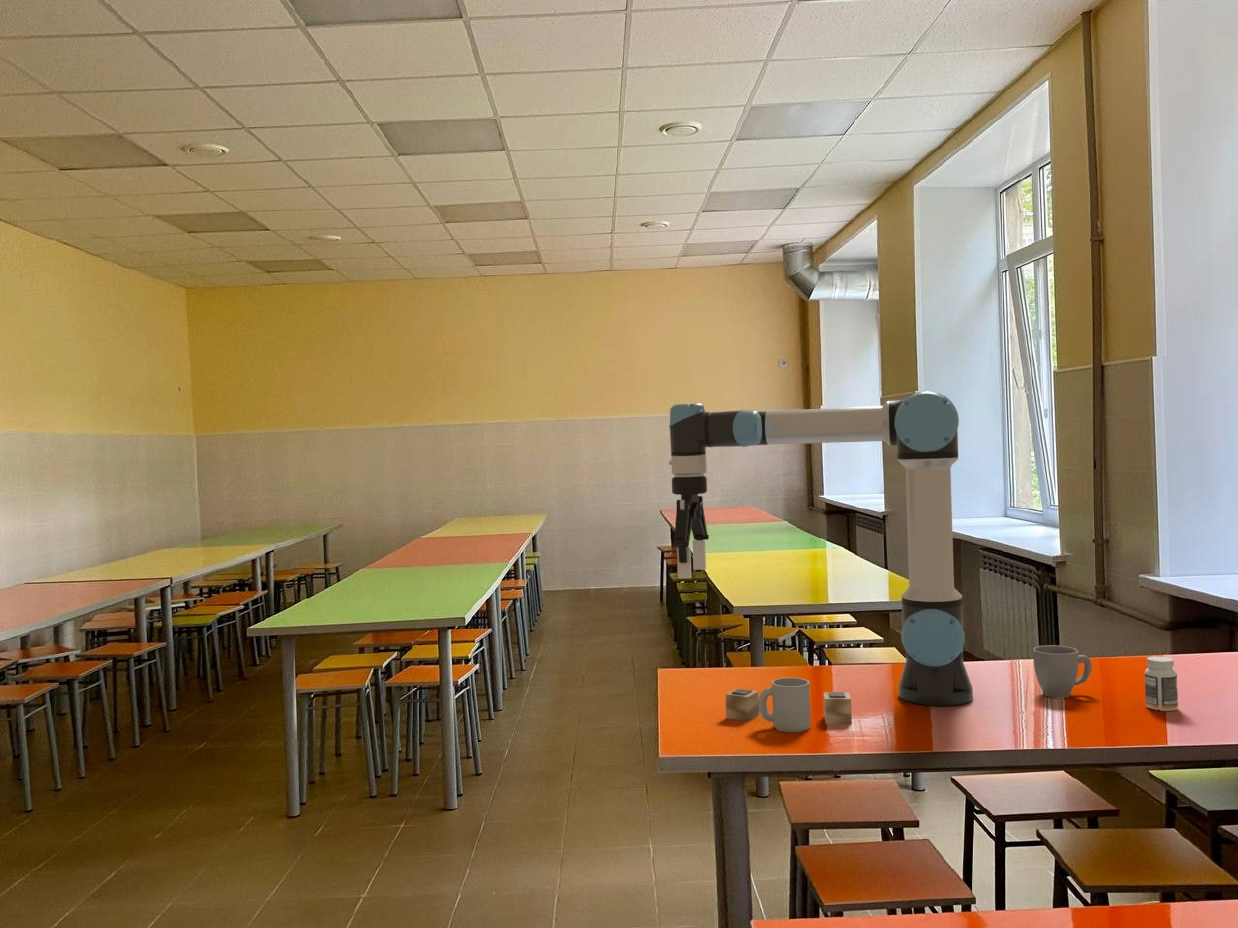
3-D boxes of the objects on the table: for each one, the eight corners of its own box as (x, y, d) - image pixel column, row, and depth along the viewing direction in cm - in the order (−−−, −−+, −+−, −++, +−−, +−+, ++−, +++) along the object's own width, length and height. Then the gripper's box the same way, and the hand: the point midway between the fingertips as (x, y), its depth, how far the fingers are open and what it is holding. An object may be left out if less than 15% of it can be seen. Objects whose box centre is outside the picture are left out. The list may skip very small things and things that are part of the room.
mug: (1046, 701, 205) (1045, 655, 205) (1026, 690, 214) (1025, 646, 214) (1102, 698, 206) (1101, 652, 206) (1080, 687, 215) (1079, 643, 214)
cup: (813, 732, 190) (811, 686, 189) (760, 733, 190) (759, 687, 190) (808, 721, 197) (806, 677, 196) (757, 722, 197) (756, 678, 197)
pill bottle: (1176, 705, 198) (1175, 656, 198) (1179, 713, 193) (1178, 662, 193) (1144, 703, 201) (1143, 655, 201) (1146, 710, 196) (1145, 661, 195)
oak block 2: (849, 717, 199) (848, 691, 199) (851, 724, 194) (851, 697, 194) (824, 717, 200) (823, 691, 200) (825, 724, 195) (825, 697, 195)
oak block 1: (759, 715, 203) (758, 689, 203) (748, 721, 199) (747, 695, 199) (737, 712, 206) (736, 687, 205) (726, 718, 201) (725, 692, 201)
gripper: (686, 473, 226) (689, 566, 226) (656, 478, 202) (660, 582, 203) (718, 472, 224) (721, 566, 224) (692, 477, 200) (695, 582, 200)
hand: (692, 574), depth 213 cm, fingers open, 13 cm apart
